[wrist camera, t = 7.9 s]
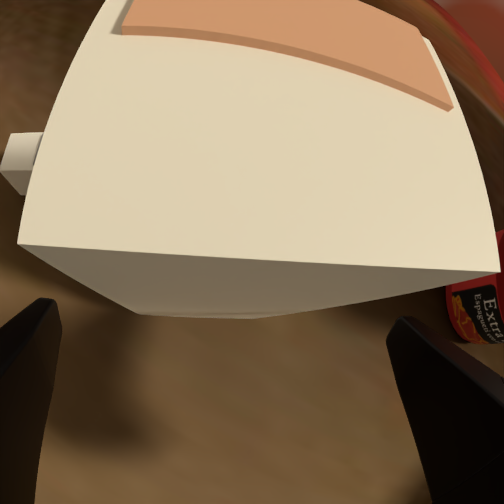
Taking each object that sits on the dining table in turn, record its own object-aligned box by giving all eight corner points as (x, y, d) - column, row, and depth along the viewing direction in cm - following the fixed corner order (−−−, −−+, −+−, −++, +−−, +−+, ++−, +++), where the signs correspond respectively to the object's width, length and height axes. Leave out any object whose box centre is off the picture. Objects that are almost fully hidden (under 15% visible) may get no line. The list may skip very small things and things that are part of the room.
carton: (253, 318, 16) (508, 269, 3) (138, 314, 14) (9, 238, 2) (253, 226, 17) (431, 31, 4) (145, 218, 15) (132, -47, 3)
